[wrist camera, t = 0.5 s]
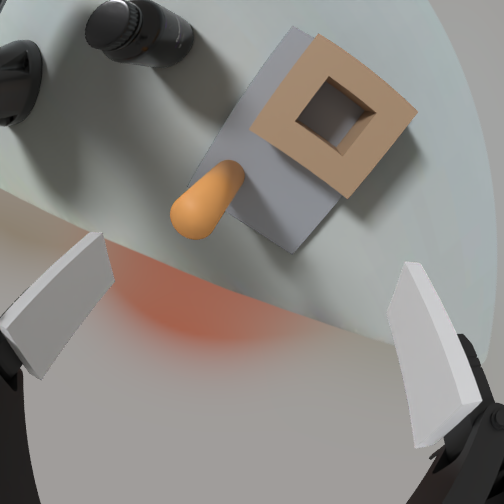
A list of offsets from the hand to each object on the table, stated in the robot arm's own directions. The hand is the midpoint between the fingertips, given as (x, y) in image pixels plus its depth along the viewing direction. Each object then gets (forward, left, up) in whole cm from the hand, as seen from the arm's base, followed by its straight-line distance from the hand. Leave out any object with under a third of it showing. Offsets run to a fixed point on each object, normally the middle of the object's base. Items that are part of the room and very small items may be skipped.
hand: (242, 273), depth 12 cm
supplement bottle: (-19, +5, -22) cm, 30 cm away
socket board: (0, +2, -22) cm, 22 cm away
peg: (-4, -5, -21) cm, 22 cm away
